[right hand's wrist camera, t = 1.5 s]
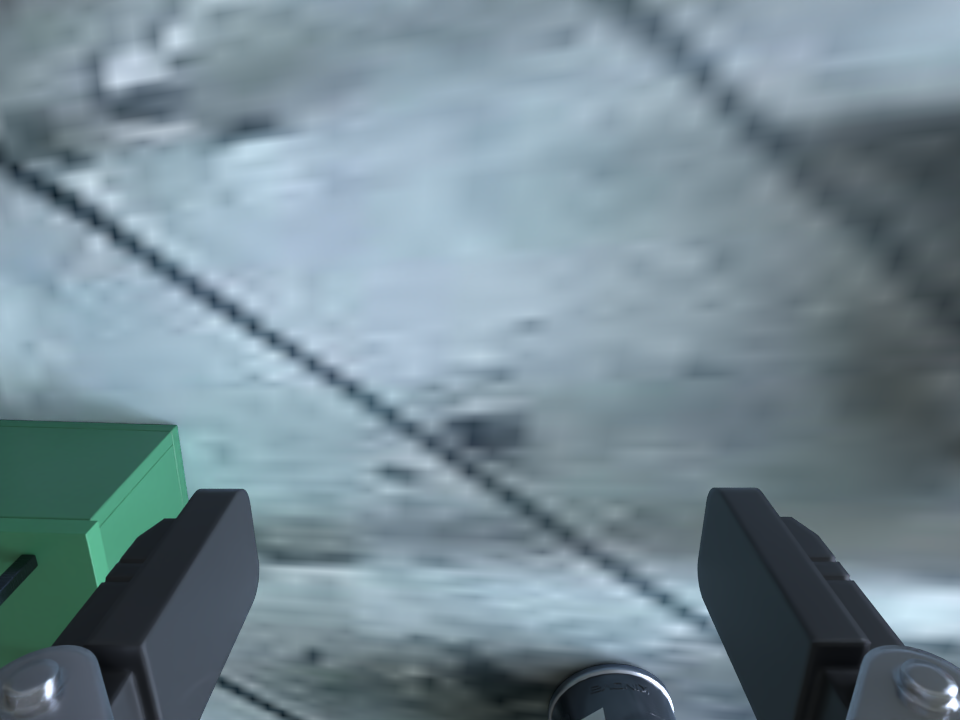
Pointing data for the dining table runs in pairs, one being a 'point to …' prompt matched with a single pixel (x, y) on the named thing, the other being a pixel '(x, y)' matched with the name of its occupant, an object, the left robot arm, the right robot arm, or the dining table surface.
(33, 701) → the right robot arm
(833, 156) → the dining table surface
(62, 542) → the lid
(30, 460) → the chest
